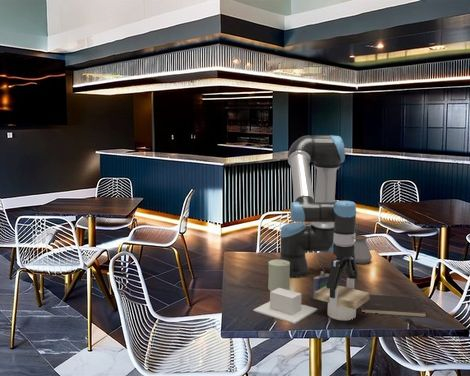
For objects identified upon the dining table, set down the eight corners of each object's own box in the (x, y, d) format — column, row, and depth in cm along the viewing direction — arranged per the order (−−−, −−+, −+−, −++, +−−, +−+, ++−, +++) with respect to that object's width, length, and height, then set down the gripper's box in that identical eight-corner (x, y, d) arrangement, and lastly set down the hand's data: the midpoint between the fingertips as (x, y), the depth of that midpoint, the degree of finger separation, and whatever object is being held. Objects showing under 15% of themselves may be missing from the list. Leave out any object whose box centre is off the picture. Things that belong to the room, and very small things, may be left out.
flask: (315, 300, 187) (316, 274, 186) (310, 298, 190) (311, 272, 188) (333, 296, 192) (333, 270, 190) (328, 294, 194) (328, 268, 193)
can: (283, 294, 194) (284, 266, 192) (264, 289, 199) (264, 262, 197) (293, 287, 202) (293, 260, 200) (274, 283, 207) (274, 257, 205)
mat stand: (253, 311, 177) (253, 293, 176) (277, 298, 189) (277, 282, 188) (294, 324, 165) (294, 305, 164) (317, 310, 178) (317, 292, 177)
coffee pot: (368, 258, 245) (369, 230, 243) (374, 265, 234) (375, 235, 231) (327, 257, 246) (328, 229, 244) (330, 264, 234) (331, 235, 232)
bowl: (322, 315, 173) (323, 299, 172) (335, 307, 181) (335, 292, 180) (347, 322, 167) (348, 306, 166) (359, 313, 174) (360, 298, 174)
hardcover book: (426, 318, 172) (426, 312, 171) (361, 314, 175) (361, 308, 175) (417, 302, 187) (417, 296, 187) (357, 298, 191) (357, 293, 191)
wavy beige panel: (314, 298, 173) (314, 292, 173) (330, 289, 182) (330, 283, 182) (355, 309, 163) (355, 302, 163) (369, 299, 172) (369, 292, 172)
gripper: (337, 253, 158) (335, 313, 161) (368, 239, 177) (365, 293, 180) (317, 249, 163) (315, 308, 166) (349, 236, 182) (347, 288, 185)
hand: (341, 300), depth 173 cm, fingers open, 13 cm apart
